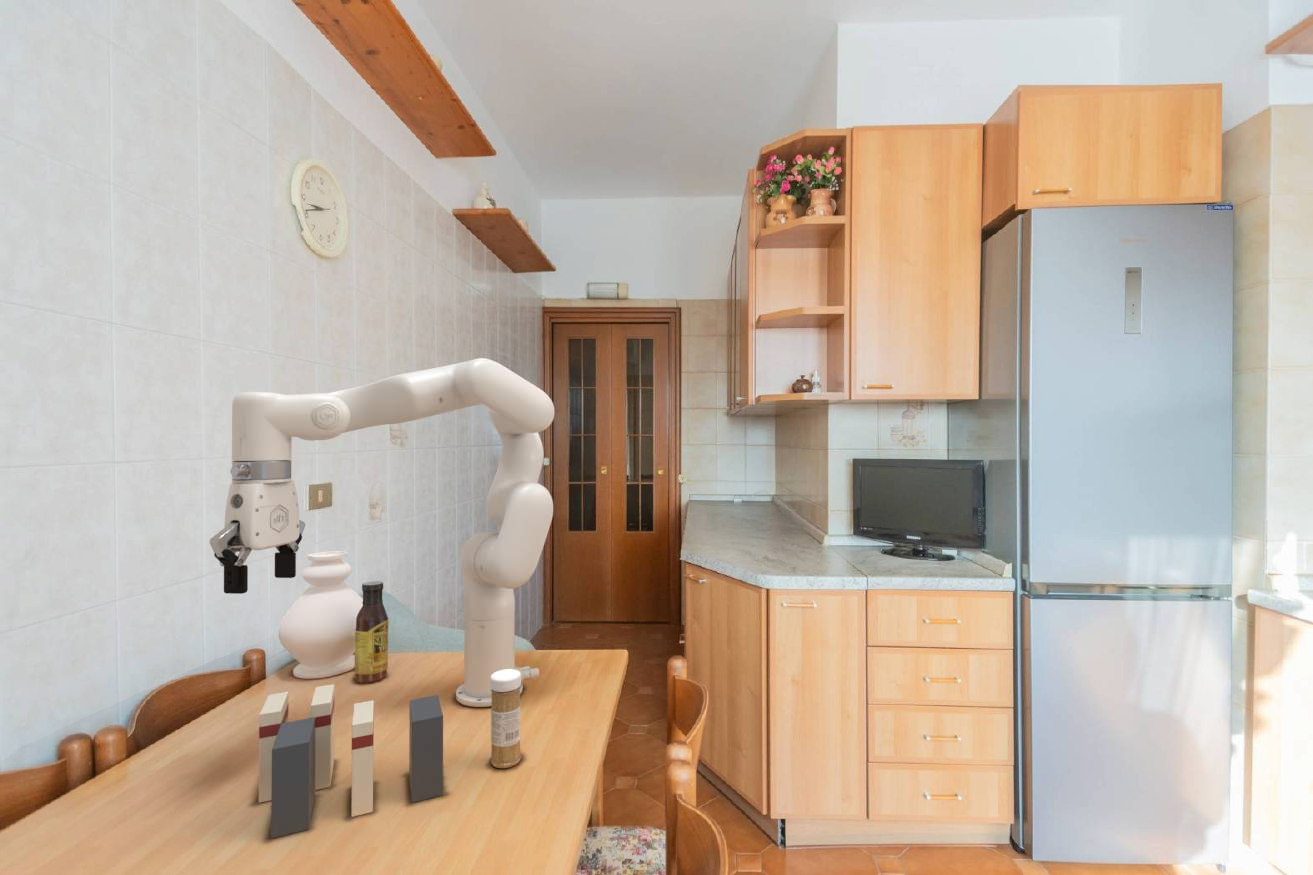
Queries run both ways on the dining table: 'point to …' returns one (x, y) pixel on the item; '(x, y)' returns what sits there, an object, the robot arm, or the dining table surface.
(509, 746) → the sprinkles bottle
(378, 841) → the dining table surface
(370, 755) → the ivory book
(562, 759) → the dining table surface
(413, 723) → the grey book
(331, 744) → the ivory book
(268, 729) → the ivory book
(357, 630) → the sauce bottle
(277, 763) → the grey book
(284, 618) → the decorative vase
